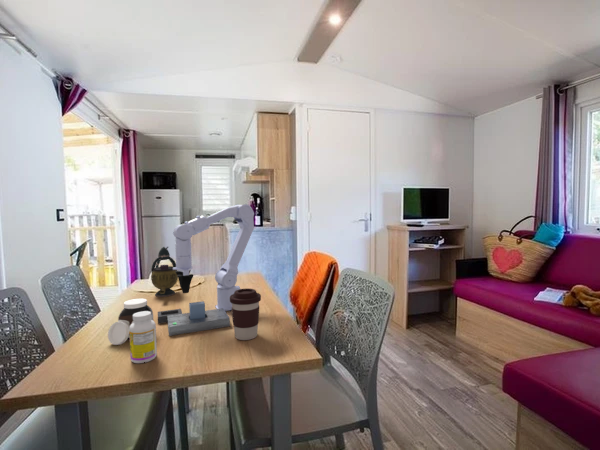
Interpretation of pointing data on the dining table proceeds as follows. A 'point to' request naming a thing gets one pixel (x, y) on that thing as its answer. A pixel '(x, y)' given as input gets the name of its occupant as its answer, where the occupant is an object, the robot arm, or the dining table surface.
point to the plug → (197, 310)
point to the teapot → (164, 274)
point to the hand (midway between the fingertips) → (184, 290)
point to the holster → (163, 315)
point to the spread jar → (126, 320)
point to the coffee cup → (245, 313)
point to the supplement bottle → (142, 338)
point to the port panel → (197, 322)
